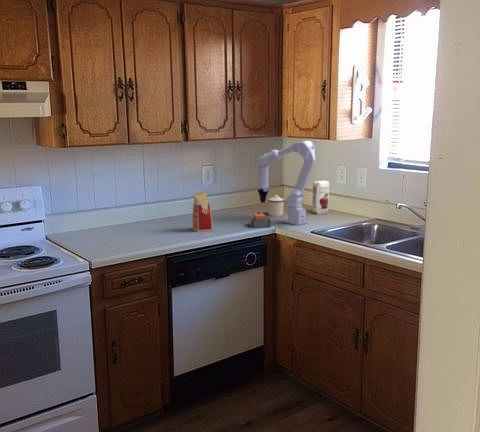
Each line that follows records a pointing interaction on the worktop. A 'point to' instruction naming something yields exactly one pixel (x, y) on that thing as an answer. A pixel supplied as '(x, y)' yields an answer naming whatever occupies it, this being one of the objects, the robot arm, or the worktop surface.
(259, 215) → the block
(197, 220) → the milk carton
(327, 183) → the juice carton
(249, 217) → the coupler channel
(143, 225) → the worktop surface
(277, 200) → the teacup with lid
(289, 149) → the robot arm
